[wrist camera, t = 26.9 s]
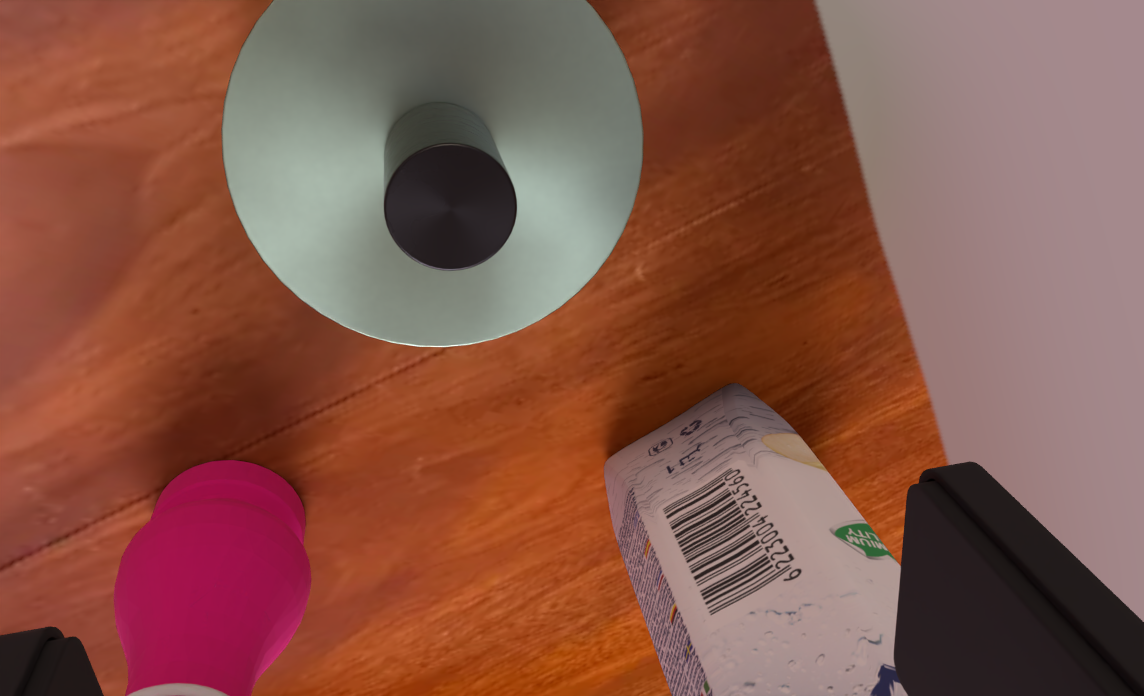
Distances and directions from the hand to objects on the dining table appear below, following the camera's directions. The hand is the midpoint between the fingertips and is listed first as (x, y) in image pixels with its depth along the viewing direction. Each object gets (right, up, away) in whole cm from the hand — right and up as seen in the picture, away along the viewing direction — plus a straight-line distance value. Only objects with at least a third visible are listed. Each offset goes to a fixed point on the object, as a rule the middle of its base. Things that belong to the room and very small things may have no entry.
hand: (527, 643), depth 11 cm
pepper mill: (-14, -4, +31) cm, 34 cm away
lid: (-4, +10, +20) cm, 23 cm away
